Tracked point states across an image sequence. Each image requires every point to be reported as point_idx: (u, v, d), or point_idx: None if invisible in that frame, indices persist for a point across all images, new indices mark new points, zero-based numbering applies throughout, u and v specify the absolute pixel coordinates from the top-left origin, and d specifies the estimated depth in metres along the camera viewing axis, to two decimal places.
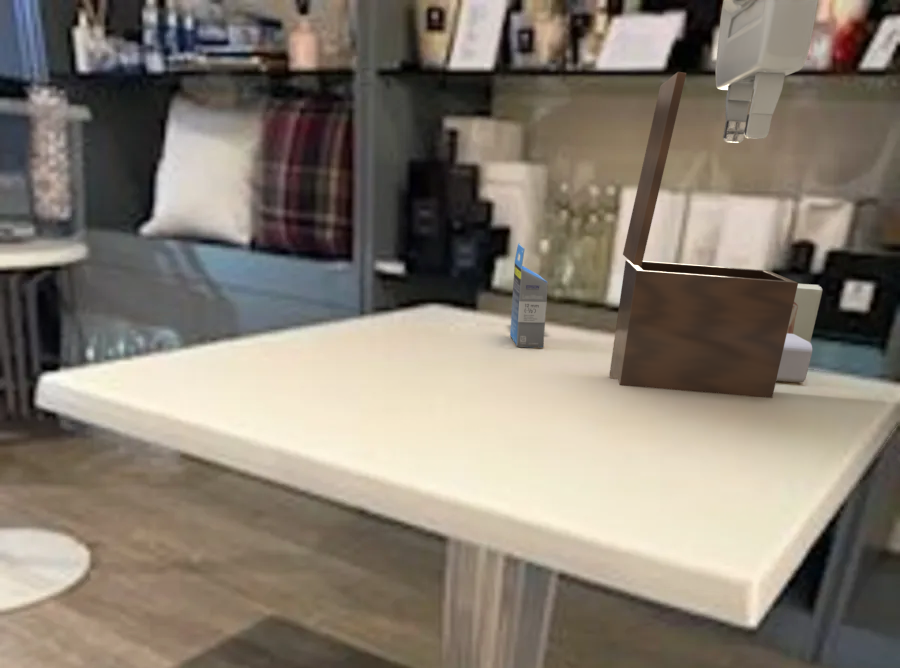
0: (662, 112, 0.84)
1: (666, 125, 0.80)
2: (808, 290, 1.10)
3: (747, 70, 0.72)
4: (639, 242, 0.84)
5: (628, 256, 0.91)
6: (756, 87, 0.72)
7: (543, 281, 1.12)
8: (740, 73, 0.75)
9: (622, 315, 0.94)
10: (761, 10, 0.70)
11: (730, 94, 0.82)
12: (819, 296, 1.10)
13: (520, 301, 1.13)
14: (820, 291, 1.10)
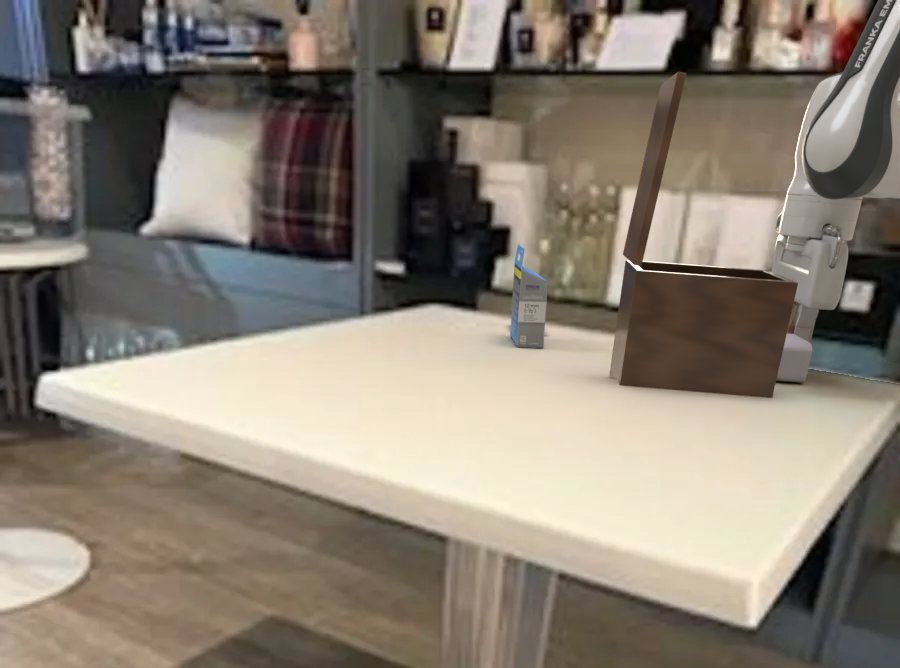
0: (662, 112, 0.84)
1: (666, 125, 0.80)
2: None
3: (797, 301, 1.09)
4: (639, 242, 0.84)
5: (628, 256, 0.91)
6: (800, 312, 1.09)
7: (543, 281, 1.12)
8: None
9: (622, 315, 0.94)
10: (807, 266, 1.07)
11: None
12: None
13: (520, 301, 1.13)
14: None
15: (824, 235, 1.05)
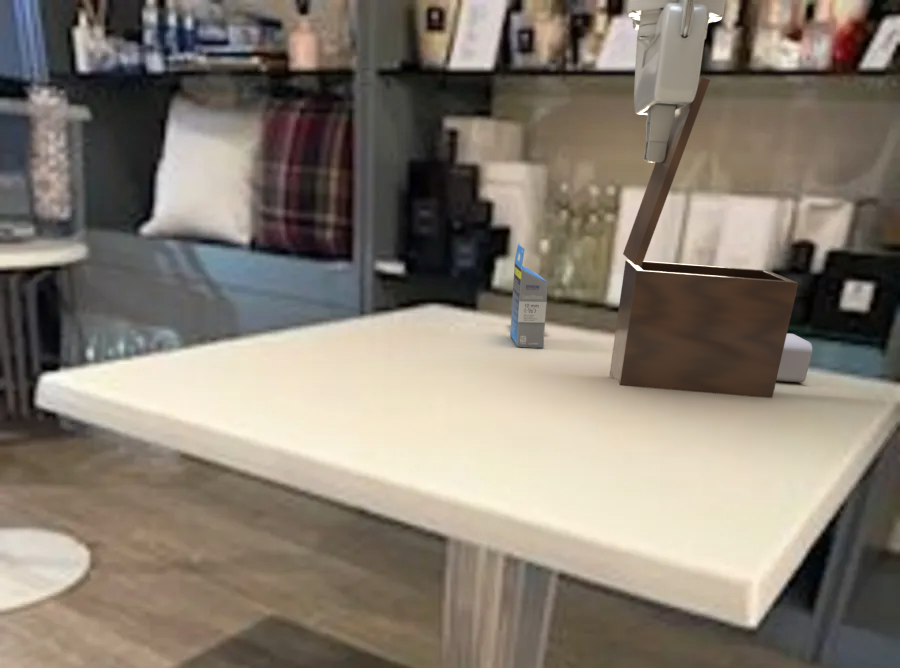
0: (680, 116, 0.84)
1: (683, 129, 0.80)
2: None
3: (649, 101, 0.80)
4: (642, 242, 0.84)
5: (629, 256, 0.91)
6: (651, 119, 0.83)
7: (543, 281, 1.12)
8: (646, 102, 0.83)
9: (622, 315, 0.94)
10: None
11: (649, 117, 0.86)
12: None
13: (520, 301, 1.13)
14: None
15: (678, 0, 0.77)
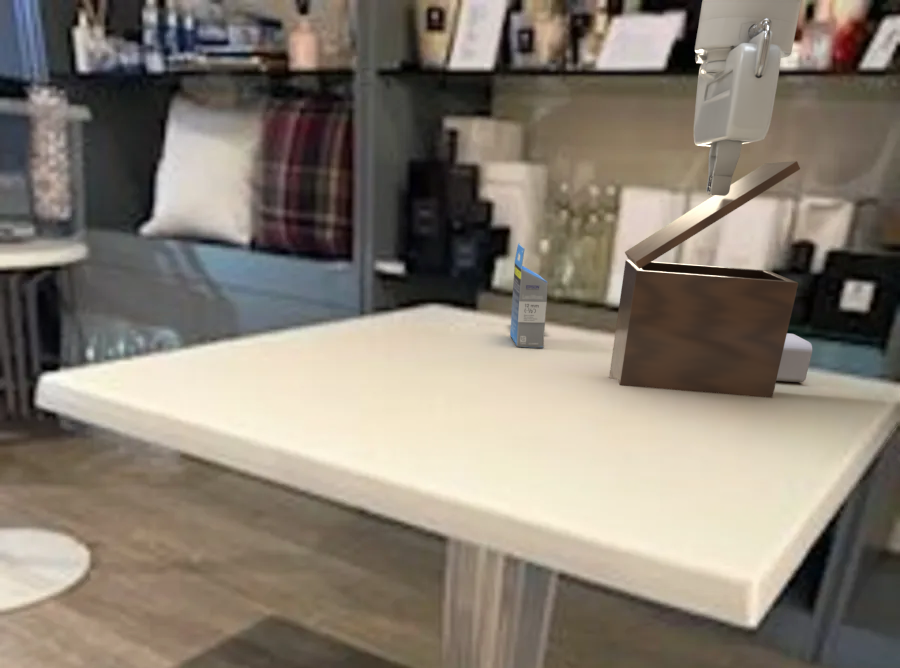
0: (755, 179, 0.86)
1: (753, 189, 0.82)
2: None
3: (717, 137, 0.81)
4: (655, 250, 0.85)
5: (632, 255, 0.91)
6: (717, 154, 0.84)
7: (543, 281, 1.12)
8: (712, 137, 0.84)
9: (622, 315, 0.94)
10: (729, 85, 0.79)
11: (712, 151, 0.87)
12: None
13: (520, 301, 1.13)
14: None
15: (750, 39, 0.77)
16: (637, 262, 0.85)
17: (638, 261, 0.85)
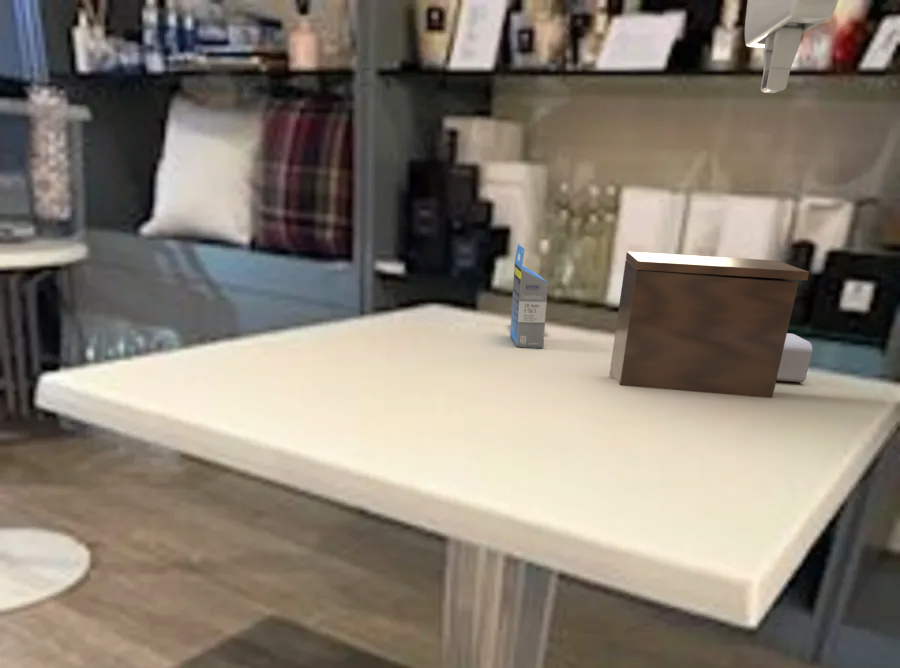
0: (766, 265, 0.89)
1: (764, 269, 0.84)
2: None
3: (778, 21, 0.77)
4: (659, 263, 0.85)
5: (635, 256, 0.91)
6: (776, 43, 0.80)
7: (543, 281, 1.12)
8: (771, 25, 0.79)
9: (622, 315, 0.94)
10: None
11: (769, 44, 0.83)
12: None
13: (520, 301, 1.13)
14: None
15: None
16: (639, 262, 0.85)
17: (640, 262, 0.85)
